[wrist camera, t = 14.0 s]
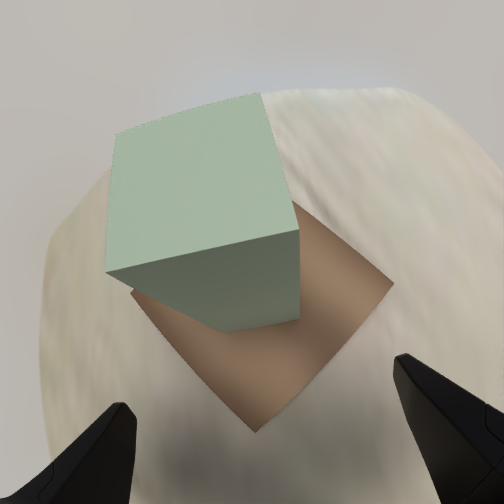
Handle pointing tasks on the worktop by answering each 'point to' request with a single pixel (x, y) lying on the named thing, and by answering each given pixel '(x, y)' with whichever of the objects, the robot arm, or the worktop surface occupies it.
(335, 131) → the worktop surface
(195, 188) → the sage block
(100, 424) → the robot arm
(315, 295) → the walnut base
